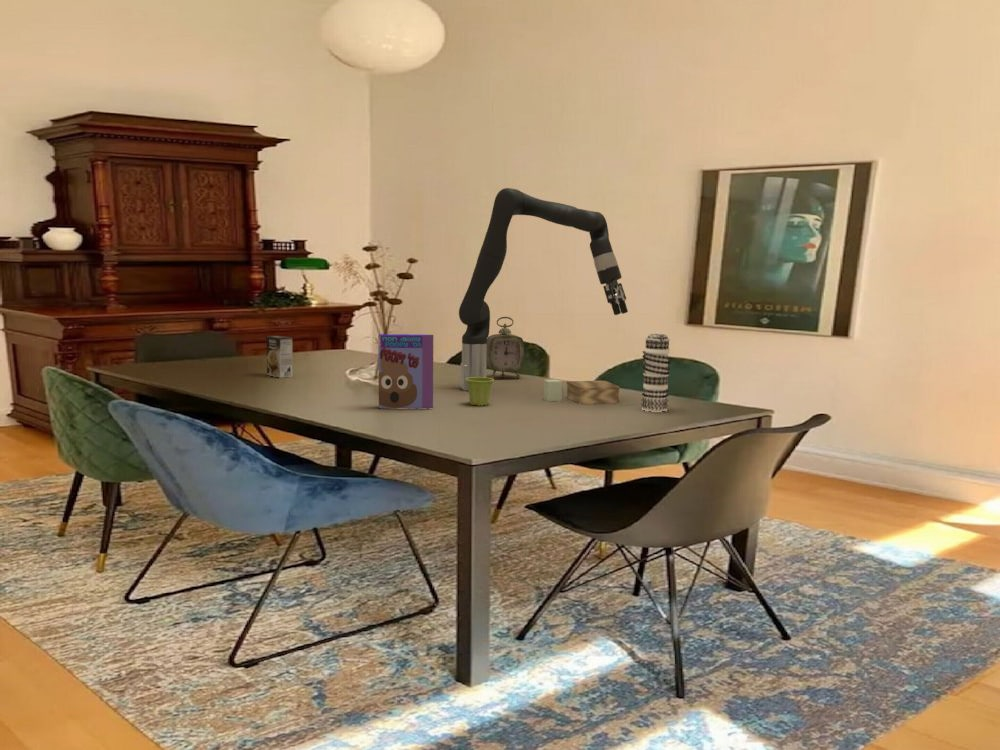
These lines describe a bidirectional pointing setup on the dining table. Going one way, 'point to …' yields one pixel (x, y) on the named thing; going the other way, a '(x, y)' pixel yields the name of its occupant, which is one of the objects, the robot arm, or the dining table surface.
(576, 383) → the oak box
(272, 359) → the coffee box
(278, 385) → the dining table surface
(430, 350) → the cereal box
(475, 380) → the plant pot
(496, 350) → the tabletop clock
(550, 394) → the sage block
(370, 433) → the dining table surface
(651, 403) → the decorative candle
